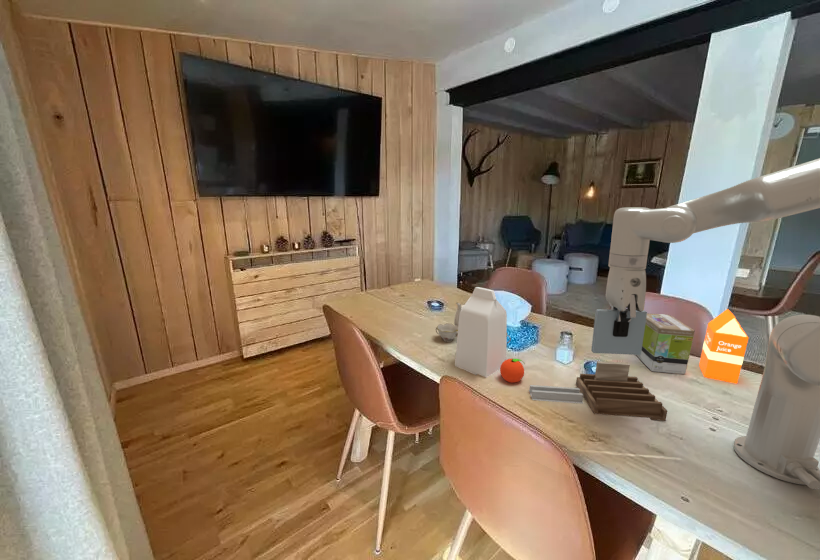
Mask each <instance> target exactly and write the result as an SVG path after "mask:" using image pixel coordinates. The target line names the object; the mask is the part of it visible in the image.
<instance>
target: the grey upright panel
mask: <svg viewBox="0 0 820 560" xmlns="http://www.w3.org/2000/svg"><path fill="white" fill-rule="evenodd" d="M617 311H618V310H611V309H606V308H604V309H603V308H601V309H598V308H597V309H595V314H594V321H593V333H592V341H591V352H592V353H593V354H606V355H607V354H609V355H610V354H612V355H634V356H637V355H641V351H642V344H643V337H644V330H645V323H646V316H647V313H648V311H647V310H645V309H644V310H643V311H642V312H638V311H637V310H636V318H631V321H630V322H629V329H628V336H627V337H614V336H613V328H614V320H616V317H617ZM623 313H624V312H622V314H623Z"/></svg>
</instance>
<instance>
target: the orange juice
mask: <svg viewBox="0 0 820 560" xmlns="http://www.w3.org/2000/svg"><path fill="white" fill-rule="evenodd" d="M748 343H749V336H748V335H747V333H746V332H745V330H744V329H743V328H742V327H741V324H740V322H739V321H738V320H737V319H736V316H735V315H734V313H732V312H731V310H729V308H726V309H725V310H724V311H723V312H721V313H720V314H718V315H717V316H715V318H713V319H711V320H710V321H709V322H708V323H707V327H706V331H705V337H704V340H703V345H702V350H701V354H700V359H699V363H698V364H699V365H698V366H699V368H700V371H701V373H702V376H703V377H704V378H707V379H710V380H711V379H712V380H715V381H722V382H727V383H732V384H738V381H739V378H740V373H741V369H742V365H743V362H744V360H745V359H744V358H745V353H746V350H747V345H748Z"/></svg>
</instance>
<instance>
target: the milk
mask: <svg viewBox="0 0 820 560" xmlns="http://www.w3.org/2000/svg"><path fill="white" fill-rule="evenodd" d="M507 314H508V313H507V310H506V309H505V308H504V306H503V305H502V304H501V303H500V302H499V301H498V300H497V297H496V293H495V291H494V289H489V288H485V287H481V286H480V287H479V286H476V287H474V289H473V292H472V294H471V295H470V297H469V298H468V300H466V302H465V303H464V305H463V306H462V309H461V311H460V314H459V325H458V331H457V335H456V336H457V338H456V346H455V347H456V349H455V350H456V351H455V360H454V367H456V368H458V369H461V370H463V369H464V371H465V370H466V371H465V372H468V373H471V374H472V375H475V376H478V375H479V376H481V377H484V378H488V377H489V376H491V375H494V374H495V373H496V372H497V371H500V367H501V364H502V363H503V362H504V361H505V360H507V342H508V340H507V338H508V336H507V335H508V334H507V333H508V332H507V331H508V330H507V329H508V328H507V324H508V322H507V321H508V320H507V319H508V317H507V316H508V315H507Z"/></svg>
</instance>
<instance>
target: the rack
mask: <svg viewBox="0 0 820 560" xmlns="http://www.w3.org/2000/svg"><path fill="white" fill-rule="evenodd" d="M630 366H631V365H630V363H629V362H623V361H622V362H621V361H617V362H616V361H605V360H604V361H603V360H602V361H601V360H600V361H599V360H596V366H595V373H579V377H578V376H577V377H576V379H575V380H576V381H575V385H576V386H577V387H576V388H579V389H580V393H582V394H583V399H584V400H585V401H586V403H587V405H588V406H589V408H590V409H591V411H592V412H593V414H594V415H595V414H596V415H609V416H622V417H634V418H636V417H637V418H649V419H650V420H651V421H662V422H663V421H664V422H665V421H666V420H667V416H668V410H667V409H666V407H664V406H663V403H662V402H661V401H660V400H658V399H657V398H656V395H655V394H652V393H651V391H650V389H649V388H648V387H647V388H646V387H645V386H644V383H643V382H640V381H639V380H638V377H637V376H629V371H630Z"/></svg>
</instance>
